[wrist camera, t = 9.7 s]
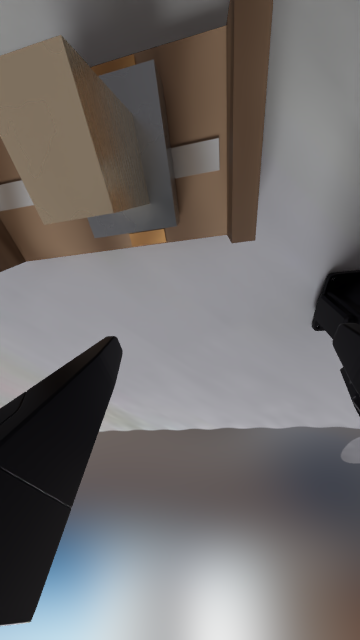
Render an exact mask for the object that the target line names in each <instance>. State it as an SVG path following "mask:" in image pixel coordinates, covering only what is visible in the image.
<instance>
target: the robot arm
mask: <svg viewBox="0 0 360 640" xmlns="http://www.w3.org/2000/svg"><path fill="white" fill-rule="evenodd" d="M334 277H335V279H333V280H332V278H334ZM318 325H319V326H318ZM317 326H318V327H317ZM312 328H313V329H314V330H315V331H324V330H325V331H326V332H327V333H328V334H329V335H330V336H331V338H332V339H333V346H334V349H335V351H336V353H337V355H338V357H339V359H340V361H341V363H342V365H343V368H342V369H340V371H341V374H342V376H343V379H344V381H345V384H346V386H347V389H348V391H349V394H350V397H351V399H352V402H353V404H354V407H355V409H356V411H357V412H358V414H359V416H360V270H357V271H346V272H336V273H331V274H329V275H328V276H327V278H326V281H325V284H324V287H323V290H322V294H321V296H320V297H319V300H318V303H317V306H316V310H315V313H314V320H313V323H312ZM121 358H122V348H121V346H120V343H119V341H118V339H117V337H115V336H108V337H105V338H104V339H102V340H101V341H99V342H98V343H96V344H95V345H94V346H92V347H91V348H89V349H88V350H86V351H85V352H83V353H82V354H80V355H79V356H77V357H76V358H74V359H73V360H71V361H70V362H68V363H67V364H66V365H64V366H63V367H61V368H60V369H58V370H57V371H55V372H54V373H52V374H51V375H49V376H48V377H46V378H45V379H43V380H42V381H40V382H39V383H37V384H36V385H35V386H33V387H32V388H30V389H29V390H27V392H24V393H23V394H21V395H20V396H18V397H17V398H15V399H14V400H12V401H11V402H9V403H8V404H6V405H5V406H3V407H2V408H0V626H6V625H14V624H22V623H29V622H31V620H32V617H33V615H34V612H35V610H36V607H37V604H38V601H39V599H40V596H41V593H42V590H43V587H44V585H45V582H46V579H47V576H48V573H49V571H50V567H51V565H52V562H53V559H54V556H55V554H56V551H57V548H58V545H59V542H60V540H61V537H62V534H63V531H64V528H65V525H66V523H67V520H68V517H69V514H70V511H71V507H72V505H73V502H74V499H75V497H76V494H77V491H78V488H79V485H80V483H81V480H82V477H83V474H84V471H85V468H86V466H87V463H88V460H89V457H90V454H91V452H92V449H93V446H94V443H95V440H96V437H97V434H98V432H99V429H100V426H101V423H102V420H103V418H104V415H105V412H106V409H107V406H108V404H109V401H110V398H111V395H112V392H113V389H114V386H115V383H116V379H117V375H118V371H119V367H120V362H121Z"/></svg>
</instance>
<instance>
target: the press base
mask: <svg viewBox="0 0 360 640" xmlns="http://www.w3.org/2000/svg"><path fill="white" fill-rule="evenodd" d="M272 10H273V0H230V4H229V10H228V17H227V24H226V26H223V27H220V28H216V29H213V30H210V31H206V32H203V33H200V34H197V35H193V36H190V37H187V38H184V39H180V40H177V41H174V42H171V43H167V44H164V45H161V46H158V47H154V48H151V49H148V50H144V51H141V52H138V53H135V54H131V55H128V56H125V57H122V58H118V59H115V60H112V61H109V62H105V63H102V64H99V65H96V66H92V67H90V68H91V69H92V70H93V71H94V72H95V73H96V74H97V76H99V75H103V74H106V73H110V72H113V71H116V70H120V69H123V68H126V67H130V66H133V65H137V64H140V63H143V62H147V61H150V60H154V62H155V65H156V67H157V70H158V73H159V75H160V78H161V81H162V84H163V91H164V99H165V107H166V115H167V123H168V130H169V138H170V146H171V154H172V162H173V170H174V177H175V185H176V193H177V201H178V209H179V216H180V222H179V224H178V225H177V226H175V227H168V228H161V229H155V230H148V231H141V232H134V233H127V234H121V235H114V236H107V237H100V238H94V235H93V232H92V230H91V227H90V224H89V222H88V219H87V218H82V219H76V220H70V221H64V222H58V223H52V224H46V225H44V224H43V222H42V220H41V218H40V216H39V214H38V212H37V210H36V208H35V206H34V204H33V202H32V200H31V198H30V196H29V194H28V192H27V190H26V187H25V185H24V183H23V181H22V179H21V177H20V175H19V173H18V171H17V169H16V167H15V165H14V163H13V161H12V159H11V157H10V155H9V153H8V151H7V149H6V147H5V145H4V143H3V141H2V139H1V137H0V272H1V271H4V270H6V269H9V268H11V267H14V266H16V265H19V264H21V263H24V262H26V261H33V260H41V259H48V258H56V257H63V256H71V255H78V254H86V253H93V252H101V251H108V250H116V249H123V248H131V247H138V246H146V245H153V244H161V243H168V242H176V241H183V240H191V239H198V238H205V237H213V236H220V235H227V236H228V237H229V239H230V241H231V242H232V243H237V242H245V241H253V240H255V235H256V222H257V209H258V196H259V182H260V169H261V156H262V142H263V129H264V116H265V103H266V89H267V76H268V63H269V49H270V36H271V23H272Z"/></svg>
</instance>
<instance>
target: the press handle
mask: <svg viewBox="0 0 360 640" xmlns="http://www.w3.org/2000/svg"><path fill="white" fill-rule="evenodd" d="M0 137H1V139H2V141H3V143H4V145H5V147H6V149H7V151H8V153H9V155H10V157H11V159H12V161H13V163H14V165H15V167H16V169H17V171H18V173H19V175H20V177H21V179H22V181H23V183H24V185H25V187H26V190H27V192H28V194H29V196H30V198H31V200H32V202H33V204H34V206H35V208H36V210H37V212H38V214H39V216H40V218H41V220H42V222H43V224H44V225H46V224H52V223H58V222H64V221H70V220H76V219H82V218H87V219H88V222H89V224H90V227H91V230H92V232H93V235H94V238H100V237H107V236H114V235H121V234H127V233H134V232H141V231H148V230H155V229H161V228H168V227H175V226H177V225H178V224H179V222H180V216H179V209H178V201H177V193H176V185H175V177H174V170H173V162H172V154H171V146H170V138H169V130H168V123H167V115H166V107H165V99H164V91H163V84H162V81H161V78H160V75H159V73H158V70H157V67H156V65H155V62H154V60H150V61H147V62H143V63H140V64H137V65H133V66H130V67H126V68H123V69H120V70H116V71H113V72H110V73H106V74H103V75H99V76H97V74H96V73H95V72H94V71H93V70H92V69H91V68H90V67H89V66H88V64H87V63H86V62H85V61H84V60H83V59H82V58H81V57H80V56H79V55H78V53H77V52H76V51H75V50H74V49H73V48H72V47H71V46H70V45H69V43H68V42H67V41H66V40H65V39H64V38H63V37H62V36H61V35H59V36H56V37H53V38H51V39H48V40H45V41H42V42H39V43H36V44H33V45H30V46H27V47H25V48H22V49H19V50H16V51H13V52H10V53H7V54H4V55H1V56H0Z"/></svg>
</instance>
